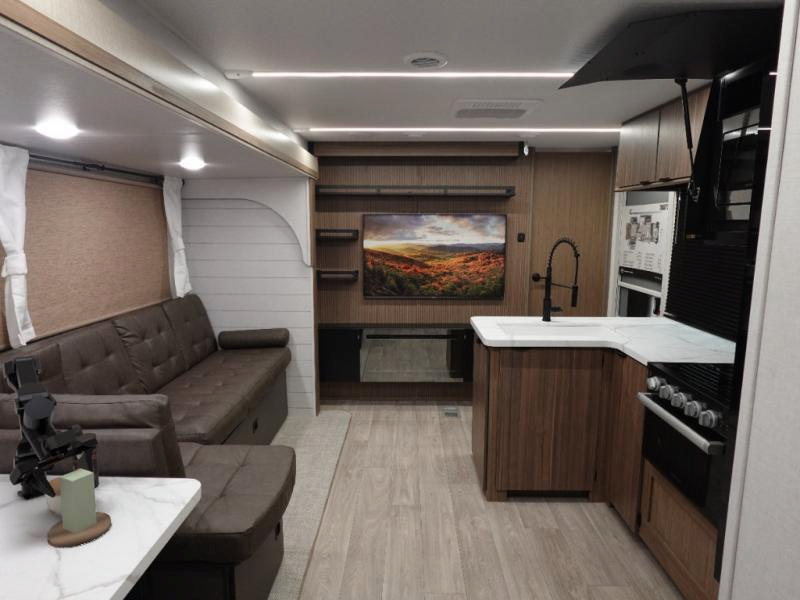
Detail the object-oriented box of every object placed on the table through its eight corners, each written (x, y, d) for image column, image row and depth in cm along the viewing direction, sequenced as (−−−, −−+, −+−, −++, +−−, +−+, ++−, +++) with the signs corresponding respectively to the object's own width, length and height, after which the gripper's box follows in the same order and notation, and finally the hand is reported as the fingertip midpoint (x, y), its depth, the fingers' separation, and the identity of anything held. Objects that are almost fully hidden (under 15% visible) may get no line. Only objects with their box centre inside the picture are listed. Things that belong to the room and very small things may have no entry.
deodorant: (103, 484, 145) (100, 435, 144) (83, 494, 140) (80, 442, 138) (90, 480, 148) (87, 431, 146) (69, 489, 142) (66, 438, 141)
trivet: (38, 534, 120) (38, 529, 120) (96, 511, 131) (96, 506, 130) (61, 554, 113) (61, 548, 112) (121, 528, 123) (120, 522, 123)
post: (62, 528, 120) (59, 476, 119) (83, 518, 125) (80, 468, 123) (75, 533, 118) (72, 481, 117) (96, 523, 123) (93, 472, 121)
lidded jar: (71, 523, 125) (68, 487, 124) (35, 518, 127) (32, 483, 126) (104, 502, 136) (102, 468, 135) (70, 497, 138) (68, 465, 137)
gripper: (12, 430, 113) (46, 487, 110) (93, 406, 130) (124, 455, 126) (-5, 457, 117) (27, 513, 114) (75, 430, 134) (105, 478, 131)
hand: (74, 487), depth 121 cm, fingers open, 9 cm apart
